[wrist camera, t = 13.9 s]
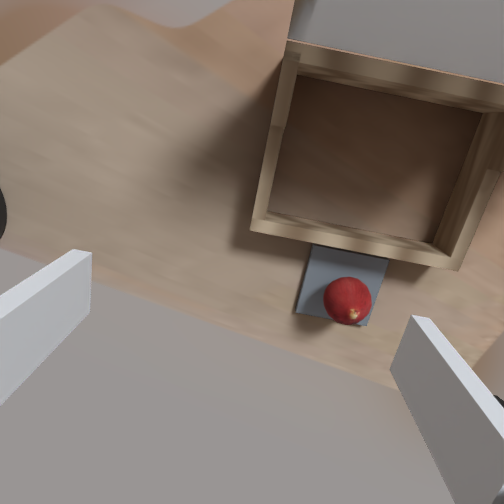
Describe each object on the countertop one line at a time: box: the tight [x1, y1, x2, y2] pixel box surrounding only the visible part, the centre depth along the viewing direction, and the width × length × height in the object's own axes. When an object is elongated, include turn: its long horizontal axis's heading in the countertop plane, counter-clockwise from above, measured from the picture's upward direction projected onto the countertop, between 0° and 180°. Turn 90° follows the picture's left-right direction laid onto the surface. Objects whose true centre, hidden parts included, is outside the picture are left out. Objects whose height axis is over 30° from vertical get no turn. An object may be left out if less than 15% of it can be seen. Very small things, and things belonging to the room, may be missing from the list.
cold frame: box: [250, 41, 504, 271], centre depth 39 cm, size 25×19×8 cm
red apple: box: [323, 277, 372, 325], centre depth 44 cm, size 6×6×8 cm
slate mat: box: [296, 243, 390, 326], centre depth 48 cm, size 10×10×1 cm
